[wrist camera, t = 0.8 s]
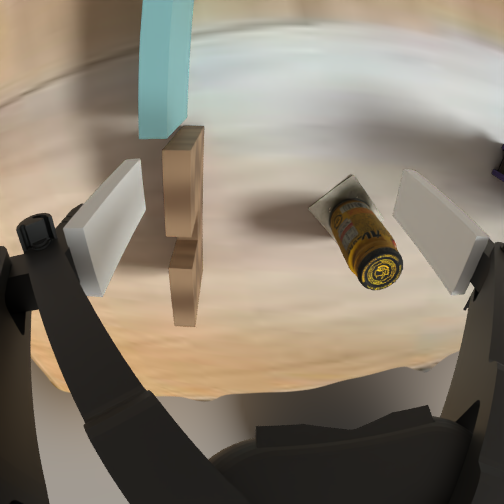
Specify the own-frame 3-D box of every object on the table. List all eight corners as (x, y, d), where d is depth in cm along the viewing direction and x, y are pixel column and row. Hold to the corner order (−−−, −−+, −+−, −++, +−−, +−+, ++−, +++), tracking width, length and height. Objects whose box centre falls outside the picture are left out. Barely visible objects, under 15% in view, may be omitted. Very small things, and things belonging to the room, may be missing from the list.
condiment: (342, 249, 44) (369, 307, 34) (307, 207, 40) (330, 261, 30) (383, 219, 42) (422, 270, 31) (352, 173, 38) (391, 217, 28)
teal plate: (176, -42, 22) (154, -78, 13) (198, -43, 23) (183, -81, 13) (166, 117, 33) (138, 139, 24) (187, 117, 33) (166, 138, 24)
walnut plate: (183, 125, 34) (162, 150, 25) (204, 126, 34) (190, 150, 25) (185, 269, 45) (174, 325, 35) (202, 270, 45) (195, 327, 36)
